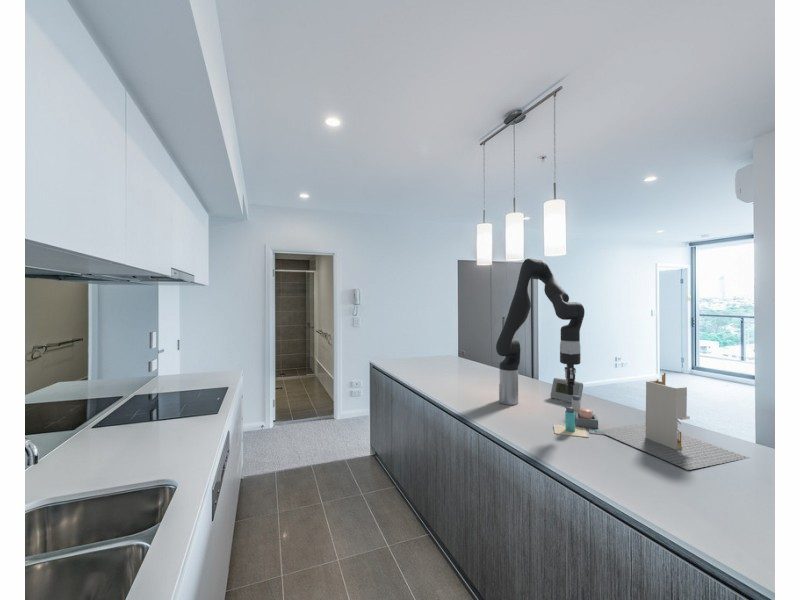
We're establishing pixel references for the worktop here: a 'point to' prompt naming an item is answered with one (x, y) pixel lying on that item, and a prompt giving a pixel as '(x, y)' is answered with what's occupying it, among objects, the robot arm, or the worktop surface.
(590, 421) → the button housing
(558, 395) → the digital clock
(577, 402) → the marker grey
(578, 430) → the sketch pad
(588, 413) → the button
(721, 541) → the worktop surface
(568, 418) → the marker teal
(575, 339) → the robot arm
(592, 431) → the card
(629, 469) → the worktop surface
